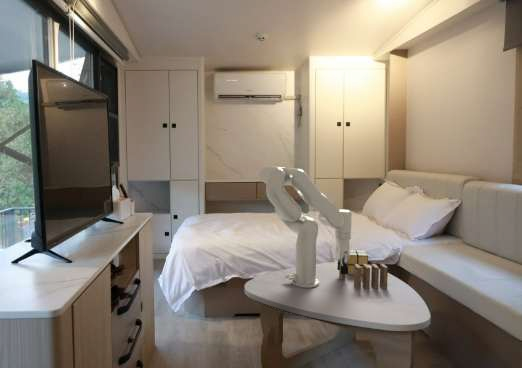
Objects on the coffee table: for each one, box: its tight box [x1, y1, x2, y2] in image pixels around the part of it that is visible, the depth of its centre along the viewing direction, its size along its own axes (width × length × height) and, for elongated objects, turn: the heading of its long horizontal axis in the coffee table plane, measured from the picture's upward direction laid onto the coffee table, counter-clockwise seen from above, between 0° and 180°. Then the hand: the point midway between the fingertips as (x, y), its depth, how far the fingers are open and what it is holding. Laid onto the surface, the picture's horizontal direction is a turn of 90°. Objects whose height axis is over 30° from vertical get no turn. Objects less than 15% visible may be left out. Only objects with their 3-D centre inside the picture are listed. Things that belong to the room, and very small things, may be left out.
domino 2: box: [353, 264, 362, 290], centre depth 159 cm, size 2×5×10 cm, turn 2°
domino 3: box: [362, 264, 371, 290], centre depth 159 cm, size 2×5×10 cm, turn 2°
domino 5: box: [379, 263, 389, 290], centre depth 159 cm, size 2×5×10 cm, turn 2°
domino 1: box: [338, 258, 346, 281], centre depth 170 cm, size 2×5×10 cm, turn 2°
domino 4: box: [370, 263, 380, 290], centre depth 159 cm, size 2×5×10 cm, turn 2°
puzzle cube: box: [346, 249, 369, 276], centre depth 180 cm, size 10×10×10 cm
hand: (342, 271), depth 170 cm, fingers closed on domino 1, 4 cm apart
